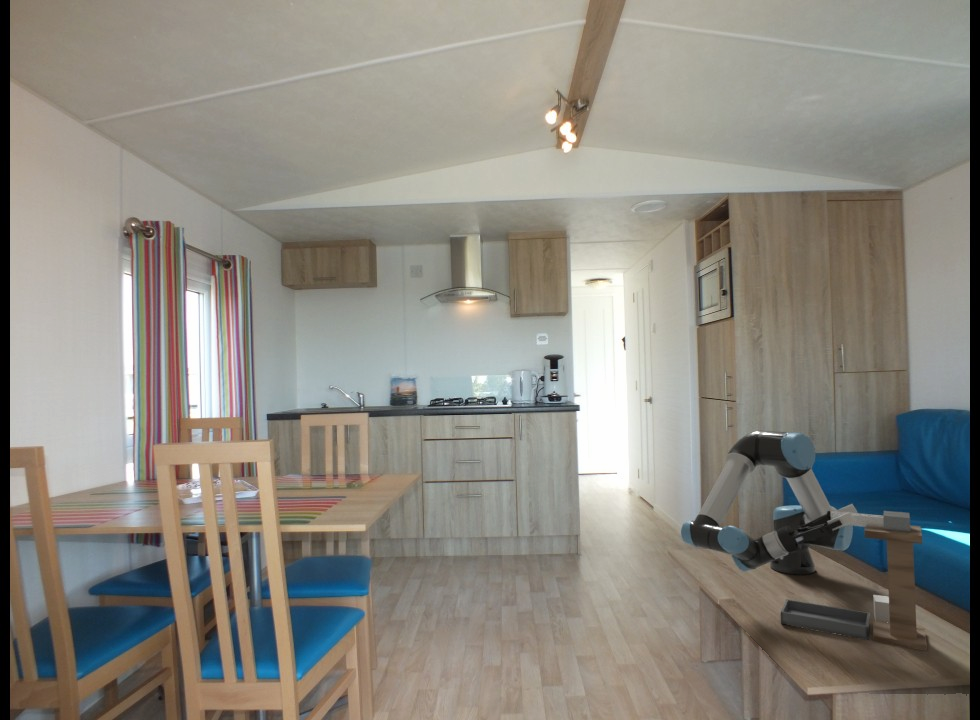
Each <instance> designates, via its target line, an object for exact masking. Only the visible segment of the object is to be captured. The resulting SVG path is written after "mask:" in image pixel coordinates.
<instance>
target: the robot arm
mask: <svg viewBox="0 0 980 720" xmlns="http://www.w3.org/2000/svg"><path fill="white" fill-rule="evenodd" d="M815 449H816V448H815V445H814V443H813V441H812V439H811V438H810V437H809V436H808V435H806V434H804V433H800V432H794V431H773V430H772V431H771V430H755V431H753V432H750V433H748V434H746V435H744V436H743V437H741V438H740V439H738V441H737V442H735V444H734V445H733V446H732V447H731V448H730V450H728V453H727V455H726V457H725V460H726V463H725V465H724V467H723V468H722V471H721V472H720V474H719V476H718V478H717V479H716V482H714V485H713V487H711V488H712V489H711V490H710V492H709V494H708V495H707V498H706V500H705V501H704V503H703V505H702V507H701V508H700V511H698V514H697V516H696V517H695V519H694V520H686V521H685V522H684V523H683V524H682V525H681V529H680V537H681V539H682V541H683V542H684V543H685V544H687V545H690V546H693V547H696V548H698V547H699V548H702V549H707V550H712V551H714V552H719V553H724V554H726V555H731V558H732V560H733V562H734V564H735V565H736V567H738V569H739V570H740V571H741V572H749V571H751V570H755V569H757V568H759V567H762V566H764V565H767V564H769V566H770V569H772V570H774V571H777V572H780V573H782V574H783V573H784V574H790V575H801V576H802V575H809V574H810V575H811V574H813V573H815V572H816V568H815V567H816V564H815V562H814V559H813V556H812V554H811V552H810V546H809V545H811V546H817V547H820V548H821V547H822V548H825V549H830V550H833V551H835V550H836V551H841V552H842V551H845V550H847V549H848V548H849V546H850V545H851V542H852V539H853V532H854V527H853V526H851V525H848V524H851V523H853V522H855V519H854V517H853V516H852V514H851V513H859V512H858V511H857V508H856V507H855V506H854V504H853V503H851V504H848V505H846V506H844V507H841V508H839V509H837V508H836V507H834V506H832V505H830V502H829V501H828V499H827V496H826V495H825V493H824V491H823V489H822V487H821V485H820V483H819V480H818V479H817V477H816V476H815V473H814V471H813V469H812V468H813V466H814V464H815V461H816V452H815ZM757 466H770V467H774V468H775V470H776V472H777V473H778V475H779V476H780V477H783V478H785V479H786V481H787V483H788V484H789V486H790V489H791V490H792V492H793V494H794V496H795V498H796V499H797V501H798V503H799V505H784V506H776V508H774V510H773V516H772V517H773V518H772V520H773V530H772V531H771V532H768V533H766V534H764V535H762V536H760V537H757V538H755V539H754V538H752V537H751V536H750V535H748V534H747V533H746V532H745V531H744V530H742V529H741V528H739V527H736V526H735V525H726V526H724V527H722V526H721V525H722V524H723V522H724V519H725V518H726V516H727V515H728V513H729V511H730V509H731V507H732V505H733V503H734V501H735V499H736V497H737V496H738V494H739V492H740V490H741V488H742V487H743V486H742V485H743V484H744V482H745V480H746V479H747V477H748V475H749V474H750V473H753V471H755V468H756V467H757ZM831 511H837V512H848V513H846V514H844V515H841V516H839V517H837V518H834V519H832V520H831V515H830V513H831Z"/></svg>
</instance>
